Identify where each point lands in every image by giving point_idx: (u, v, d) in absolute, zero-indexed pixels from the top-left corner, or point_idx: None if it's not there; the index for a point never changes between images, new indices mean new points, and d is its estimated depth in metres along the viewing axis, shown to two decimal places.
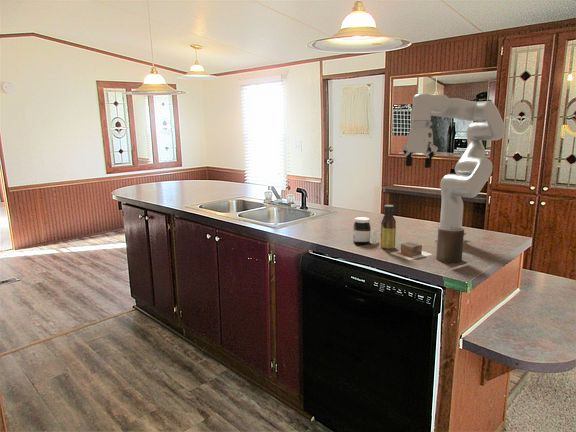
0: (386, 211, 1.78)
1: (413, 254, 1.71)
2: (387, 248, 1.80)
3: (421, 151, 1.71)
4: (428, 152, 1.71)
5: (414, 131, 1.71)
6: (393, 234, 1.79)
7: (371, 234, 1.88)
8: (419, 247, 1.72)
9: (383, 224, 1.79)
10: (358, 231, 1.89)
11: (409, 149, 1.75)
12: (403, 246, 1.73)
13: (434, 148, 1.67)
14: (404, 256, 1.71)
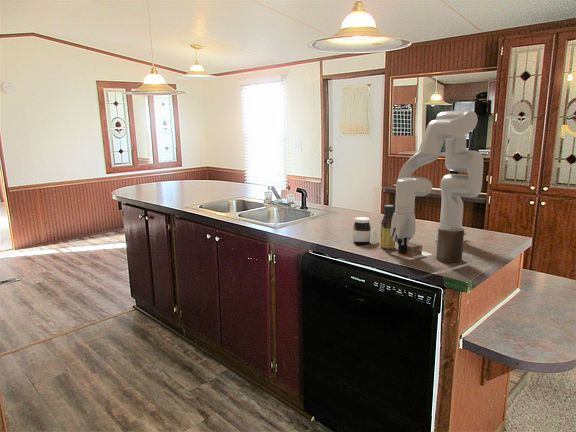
0: (386, 211, 1.78)
1: (414, 254, 1.71)
2: (387, 248, 1.80)
3: (411, 235, 1.70)
4: None
5: (407, 217, 1.66)
6: None
7: (371, 234, 1.88)
8: (419, 247, 1.72)
9: (383, 224, 1.79)
10: (358, 231, 1.89)
11: (401, 236, 1.66)
12: None
13: (412, 236, 1.72)
14: (404, 256, 1.71)
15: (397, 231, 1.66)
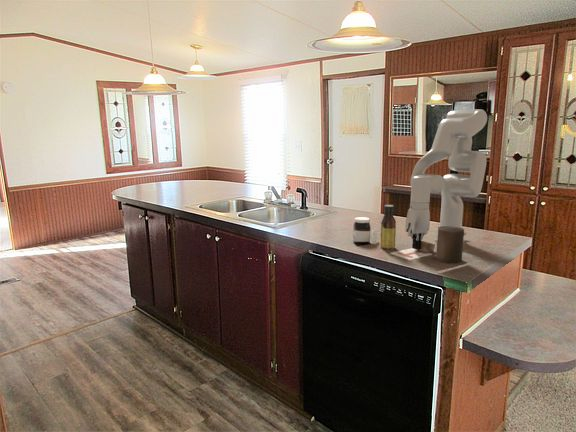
0: (386, 211, 1.78)
1: (426, 250, 1.74)
2: (387, 248, 1.80)
3: (426, 231, 1.74)
4: (419, 233, 1.75)
5: (422, 213, 1.70)
6: (393, 234, 1.79)
7: (371, 234, 1.88)
8: (432, 245, 1.76)
9: (383, 224, 1.79)
10: (358, 231, 1.89)
11: (416, 231, 1.70)
12: None
13: (426, 232, 1.76)
14: (404, 256, 1.71)
15: (412, 226, 1.70)
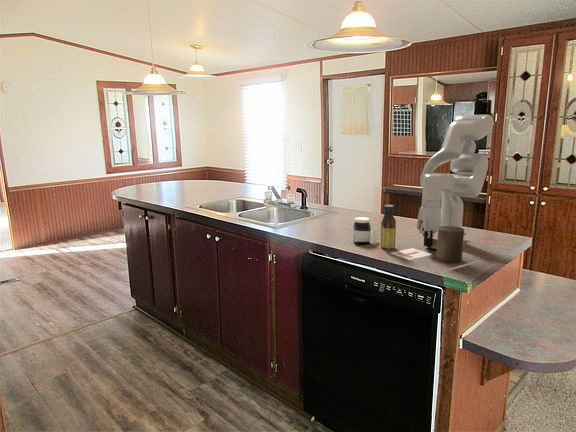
0: (386, 211, 1.78)
1: None
2: (387, 248, 1.80)
3: (437, 229, 1.77)
4: (430, 230, 1.79)
5: (434, 210, 1.73)
6: (393, 234, 1.79)
7: (371, 234, 1.88)
8: None
9: (383, 224, 1.79)
10: (358, 231, 1.89)
11: (427, 228, 1.74)
12: None
13: (437, 230, 1.79)
14: (404, 256, 1.71)
15: (424, 224, 1.73)
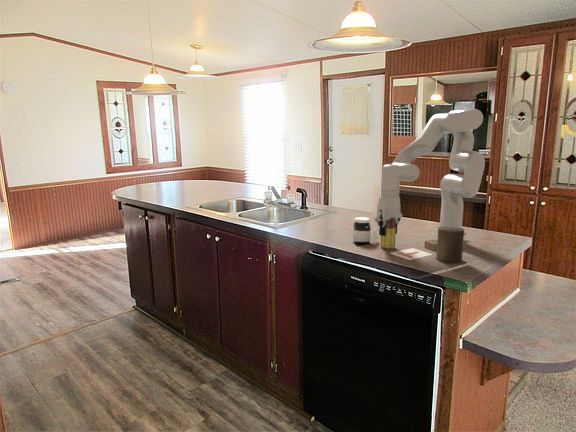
0: None
1: None
2: (387, 248, 1.80)
3: (396, 218, 1.80)
4: None
5: (392, 200, 1.76)
6: (393, 233, 1.79)
7: (371, 234, 1.88)
8: None
9: None
10: (358, 231, 1.89)
11: (386, 218, 1.77)
12: (427, 243, 1.82)
13: (401, 215, 1.83)
14: (404, 256, 1.71)
15: (383, 213, 1.76)
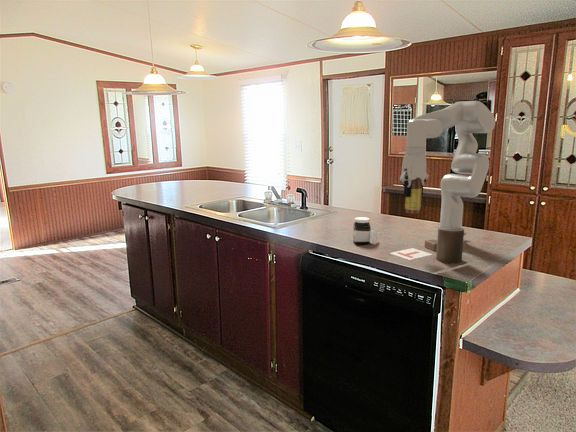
0: None
1: None
2: (412, 210, 1.68)
3: (422, 178, 1.68)
4: None
5: (418, 158, 1.64)
6: (419, 195, 1.67)
7: (371, 234, 1.88)
8: None
9: None
10: (358, 231, 1.89)
11: (412, 177, 1.65)
12: (426, 243, 1.82)
13: (427, 176, 1.71)
14: (404, 256, 1.71)
15: (408, 172, 1.64)
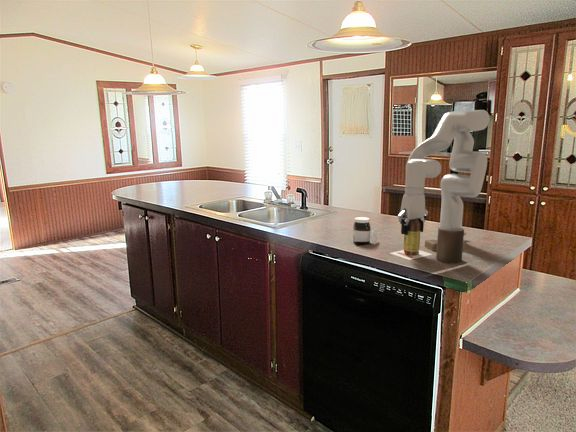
0: None
1: None
2: (411, 252, 1.72)
3: (421, 217, 1.71)
4: None
5: (417, 198, 1.67)
6: (417, 237, 1.70)
7: (371, 234, 1.88)
8: None
9: None
10: (358, 231, 1.89)
11: (411, 217, 1.68)
12: (426, 242, 1.83)
13: (427, 212, 1.74)
14: (404, 256, 1.71)
15: (407, 212, 1.67)
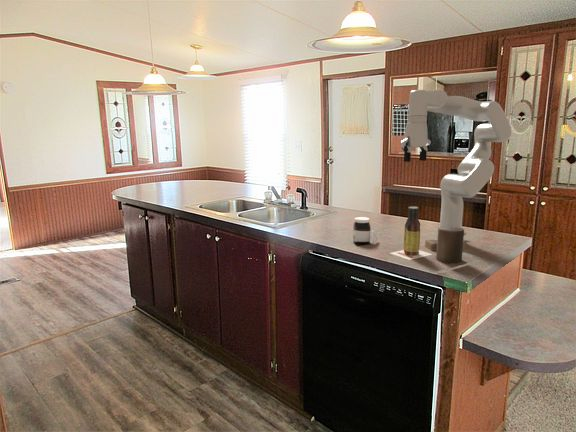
0: (411, 213, 1.69)
1: None
2: (411, 252, 1.72)
3: (423, 146, 1.78)
4: None
5: (420, 126, 1.74)
6: (417, 237, 1.70)
7: (371, 234, 1.88)
8: None
9: (407, 227, 1.70)
10: (358, 231, 1.89)
11: (414, 144, 1.75)
12: (426, 242, 1.83)
13: (429, 142, 1.82)
14: (404, 256, 1.71)
15: (410, 140, 1.74)
